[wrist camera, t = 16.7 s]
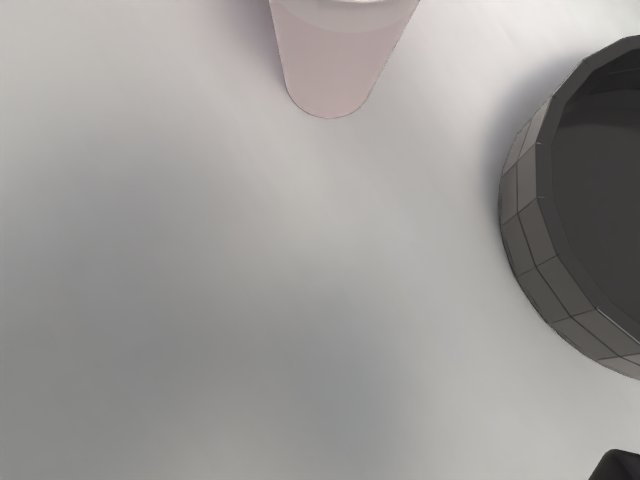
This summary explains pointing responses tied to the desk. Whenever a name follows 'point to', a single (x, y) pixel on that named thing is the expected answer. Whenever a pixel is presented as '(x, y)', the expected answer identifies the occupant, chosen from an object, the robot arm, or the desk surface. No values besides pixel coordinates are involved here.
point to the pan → (582, 207)
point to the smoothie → (336, 49)
